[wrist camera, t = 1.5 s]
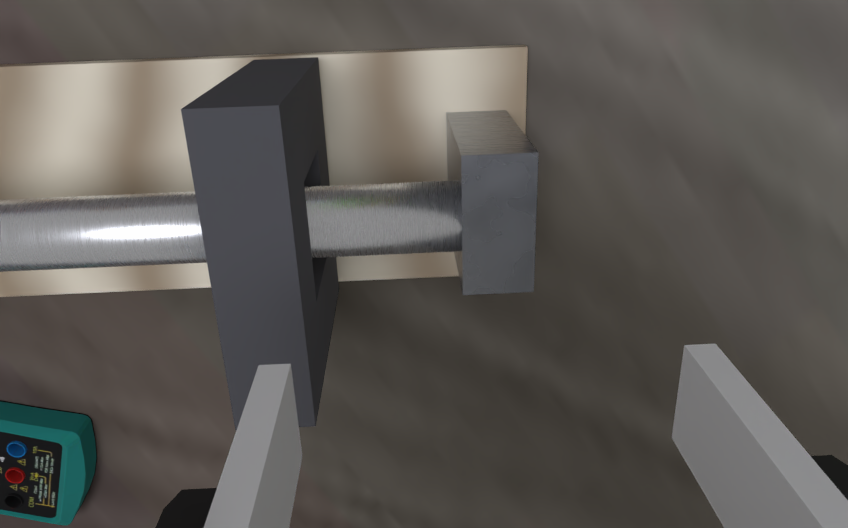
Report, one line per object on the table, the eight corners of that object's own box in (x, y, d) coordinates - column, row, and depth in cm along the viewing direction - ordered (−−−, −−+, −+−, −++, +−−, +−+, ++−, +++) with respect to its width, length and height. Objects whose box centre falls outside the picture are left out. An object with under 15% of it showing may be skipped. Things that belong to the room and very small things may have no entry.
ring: (318, 57, 32) (278, 105, 21) (339, 289, 37) (315, 426, 26) (253, 59, 32) (180, 109, 21) (282, 291, 37) (235, 430, 26)
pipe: (506, 110, 35) (539, 154, 27) (504, 223, 37) (534, 295, 29) (-250, 140, 34) (-451, 195, 26) (-201, 253, 36) (-372, 336, 28)
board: (524, 44, 34) (527, 46, 34) (518, 265, 39) (521, 273, 38) (-279, 75, 34) (-298, 78, 33) (-184, 297, 38) (-199, 305, 37)
